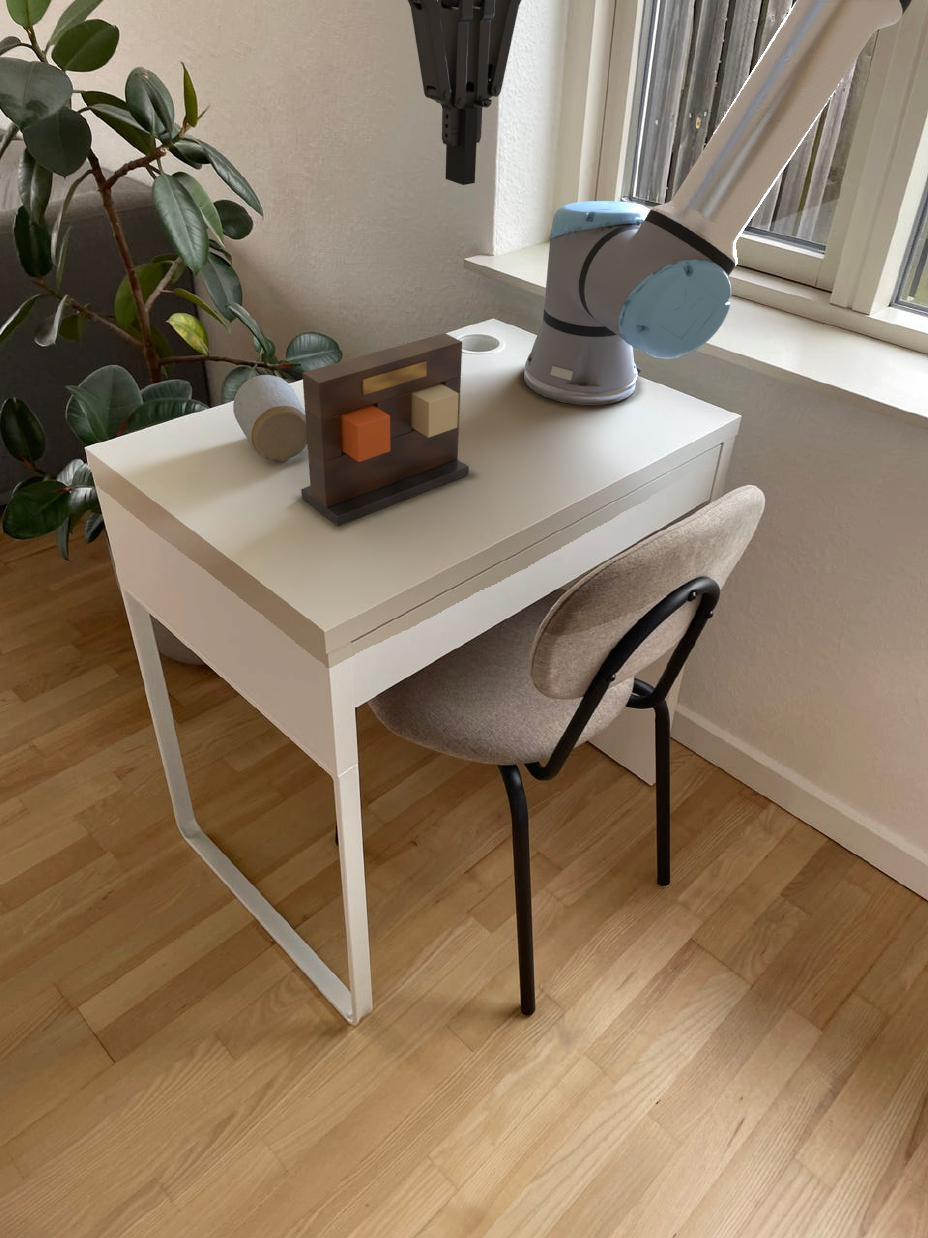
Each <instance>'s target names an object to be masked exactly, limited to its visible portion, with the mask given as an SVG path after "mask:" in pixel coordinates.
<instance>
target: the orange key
mask: <svg viewBox="0 0 928 1238" xmlns="http://www.w3.org/2000/svg"><path fill="white" fill-rule="evenodd" d="M339 415H340V434H341V450H342V451H343V452H345V453H346V454H348V455H349V456H351V457H352V458H353V459H355V460H356V461H358V462H360V461H363V460H366V459H369V458H372V457H375V456H378V455H380V454H383V453H386V452H389V451H390V415H388V414H386V413H385V412H383V411H381V410H380V409H378V408H377V407H375V406H373V405H372V404H371V405H368V406H365V407H362V408H358V409H355V410H352V411H349V412H346V413H343V414H339Z"/></svg>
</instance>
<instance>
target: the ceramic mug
mask: <svg viewBox="0 0 928 1238" xmlns="http://www.w3.org/2000/svg"><path fill="white" fill-rule="evenodd" d="M232 408H233V415H234V418H235V420H236V422H237V423H238V425H239V427H240V429H241V431H242V432H243V434H244V435H245V437H246V439H247V441H248V443H249V445H250V446H251V447H252V449H253V450H254V451H255V452H256V453H257V454H258V455H260V456H261V457H263V458H265V459H267V460H270V461H275V462H276V461H277V462H279V461H286V460H289V459H292V458H295V457H297V456H298V455H299V454H301V452H303V450H304V449H305V448H306V446H308V445H307V431H306V417H305V408H304V407H303V406H302V403H301V401H300V399H299V397H298V395H297V393H296V391H295V390H294V388H293V387H292V385H291V384H289V383H288V382H287V381H286V380H285V379H283V378H281V377H279V376H276V375H272V374H261V375H257V376H254V377H252V378H249V379H248V380H246V381H245V382H243V384H241V386H239V388H238V389H237V391H236V393H235V396H234V398H233V402H232Z"/></svg>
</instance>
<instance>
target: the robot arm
mask: <svg viewBox="0 0 928 1238" xmlns="http://www.w3.org/2000/svg"><path fill="white" fill-rule="evenodd" d="M521 2H522V0H407V3H408V4H409V6H410V13H411V19H412V25H413V31H414V38H415V45H416V48H417V49H416V51H417V57H418V62H419V63H418V64H419V70H420V74H421V75H420V76H421V81H422V88H423V94H424V96H425V98H427V99H430V100H433V101H435V103H437V104H440V106H441V110H442V111H441V141H442V144H443V145H445V180H447V181H450V182H453V183H456V184H459V185H462V186H465V185H470V184H475V183H476V168H477V167H476V166H477V165H476V164H477V145H478V144H479V143H480V142H481V140H482V132H483V130H482V129H483V126H482V125H483V109H484V108H485V109H487V108H489V107H490V106H492V103H493V100H492V99H491V98H492V97H494V98H497V97H499V96H500V95H501V92H502V89H503V84H504V79H505V75H506V70H507V66H508V65H507V64H508V60H509V55H510V50H511V45H512V41H513V38H514V37H513V36H514V32H515V27H516V21H517V17H518V12H519V7H520V5H521ZM912 2H913V0H796V1H795V2H794V4H793V6H792V7H791V9H790V10H789V12H788V14H787V15H786V17H785V18H784V20H783V22H782V23H781V25H780V27H779V28H778V30H777V31H776V32H775V34H774V36H773V37H772V39H771V41H770V42H769V44H768V46H767V47H766V49H765V51H764V52H763V54H762V55H761V57H760V59H759V60H758V62H757V63H756V65H755V66H754V68H753V70H752V71H751V73H750V75H749V76H748V77H747V80H746V81H745V83H744V84H743V86H742V88H741V89H740V91H739V92H738V94H737V96H736V97H735V99H734V100H733V102H732V104H731V105H730V106H729V109H727V112H726V113H725V115H724V116H723V118H722V119H721V121H720V123H719V125H718V126H717V128H716V129H715V131H714V132H713V134H712V136H711V137H710V138H709V140H708V142H707V144H706V145H705V147H704V149H703V150H702V152H701V153H700V155H699V156H698V158H697V160H696V161H695V163H694V165H693V166H692V167H691V169H690V171H689V173H688V174H687V176H686V177H685V179H684V180H683V182H682V184H681V185H680V187H679V189H678V190H677V191H676V193H675V195H674V196H673V198H672V200H670V201H668V202H665V203H662V204H658V205H656V206H652V207H651V208H650V210H649V211H648V208H647V207H646V206H644V205H642V204H639V203H634V202H628V201H617V200H616V201H614V200H592V201H591V200H590V201H589V200H588V201H577V202H570V203H568V204H565V205H562V206H560V207H559V208H558V209H557V210H556V211H555V213H554V214H553V218H552V222H551V223H552V224H551V228H550V233H549V237H548V240H549V248H548V249H549V250H548V261H547V271H546V281H545V282H546V283H545V294H544V304H543V306H544V307H543V315H542V316H543V317H542V322H541V326H540V329H539V330H538V333H537V335H536V337H535V340H534V343H533V345H532V347H531V351H530V353H529V355H528V356H527V359H526V361H525V365H524V378H523V379H524V382H525V384H526V385H527V386H528V388H530V389H531V390H532V391H533V392H535V393H537V394H538V395H540V396H542V397H545V398H547V399H550V400H553V401H556V402H561V403H565V404H571V405H579V406H580V405H581V406H601V405H609V404H613V403H617V402H620V401H622V400H625V399H626V398H628V397H630V396H631V395H632V394H633V393H634V392H635V390H636V385H637V378H638V374H639V373H641V371H642V368H640V367H639V366H637V364H636V363H635V359H634V357H635V356H634V349H635V350H638V351H640V352H641V351H642V352H644V353H645V354H647V355H648V356H651V357H653V358H658V359H664V360H666V359H668V360H669V359H676V358H679V357H681V356H683V355H689V354H692V353H693V352H694V351H697V350H698V349H700V348H701V347H703V345H705V344H706V343H707V342H709V341H710V340H711V339H712V338H713V336H715V334H716V333H717V332H719V331H718V330H719V329H720V328H721V327H722V325H723V323H724V322H725V320H726V318H727V315H728V313H729V311H730V308H731V303H730V301H729V299H731V298H732V292H733V291H732V286H731V285H732V284H731V282H730V280H729V277H730V275H731V274H732V272H733V270H734V269H735V267H736V266H737V265H738V257H737V249H736V245H737V244H736V243H737V240H738V239H739V237H740V236H741V235H742V233H743V231H744V230H745V228H746V227H747V225H748V224H749V223H750V221H751V219H752V218H753V216H754V215H755V213H756V212H757V210H758V209H759V207H760V205H761V204H762V203H763V201H764V199H765V198H766V197H767V195H768V194H769V192H770V190H771V189H772V188H773V186H774V185H775V183H776V181H777V180H778V178H779V177H780V176H781V174H782V173H783V171H784V169H785V168H786V166H787V165H788V164H789V162H790V160H791V159H792V157H793V156H794V155H795V152H796V151H797V149H798V148H799V146H800V145H801V144H802V142H803V140H804V138H805V137H806V136H807V134H808V133H809V131H810V129H812V127H813V125H814V124H815V122H816V121H817V119H818V118H819V116H820V115H821V113H822V112H823V110H824V109H825V107H826V106H827V104H828V103H829V101H830V100H831V98H832V96H833V95H834V94H835V92H836V90H837V89H838V87H839V85H841V82H842V81H843V80H844V78H845V77H846V75H847V73H848V72H849V71H850V68H852V66H853V64H854V63H855V62H856V60H857V58H858V57H859V56H860V54H861V52H862V51H863V49H864V48H865V46H866V44H867V43H868V41H869V40H870V39H871V37H872V36H873V34H874V33H875V32H876V31H878V30H881V29H884V28H887V27H890V26H894V25H895V24H897V23H898V22H899V21H900V20H901V18H902V17H903V15H904V14H905V12H906V11H907V9H908V8H909V6H910V5H911V4H912Z"/></svg>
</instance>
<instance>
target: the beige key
mask: <svg viewBox="0 0 928 1238" xmlns="http://www.w3.org/2000/svg"><path fill="white" fill-rule="evenodd" d="M458 395H459V393H457V392H455V391H453V390H452V389H450V388H448V387H446V386H444V385H443V384H441V383H438V384H435V385H432V386H428V387H425V388H422V389H419V390H416V391H413V392H411V427H412V428H414V429H415V430H417V431H419V432H420V433H422V434H423V435H425V436H427V437H428V438H429V437H432V436H435V435H437V434H440V433H443V432H446V431H449V430H452V429H455V428H457V421H458Z"/></svg>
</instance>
